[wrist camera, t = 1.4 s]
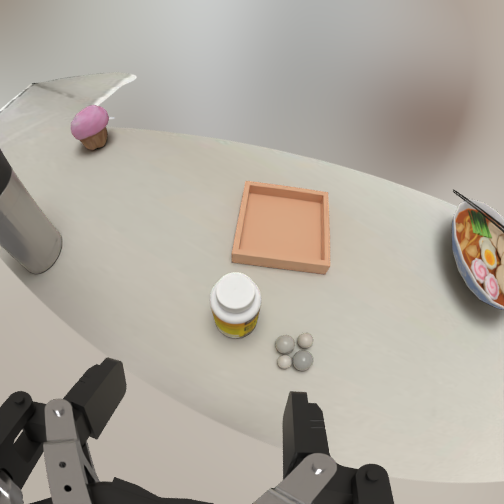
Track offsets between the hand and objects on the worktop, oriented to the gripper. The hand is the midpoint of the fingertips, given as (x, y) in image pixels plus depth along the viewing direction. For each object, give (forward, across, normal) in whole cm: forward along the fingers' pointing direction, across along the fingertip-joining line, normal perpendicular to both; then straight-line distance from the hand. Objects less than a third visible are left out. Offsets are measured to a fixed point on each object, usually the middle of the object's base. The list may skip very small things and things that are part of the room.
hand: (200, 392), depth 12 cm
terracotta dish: (+34, -5, -2) cm, 35 cm away
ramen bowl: (+33, -44, 0) cm, 55 cm away
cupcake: (+47, +37, -15) cm, 62 cm away
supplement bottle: (+24, 0, +9) cm, 25 cm away
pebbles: (+21, -8, +11) cm, 25 cm away
